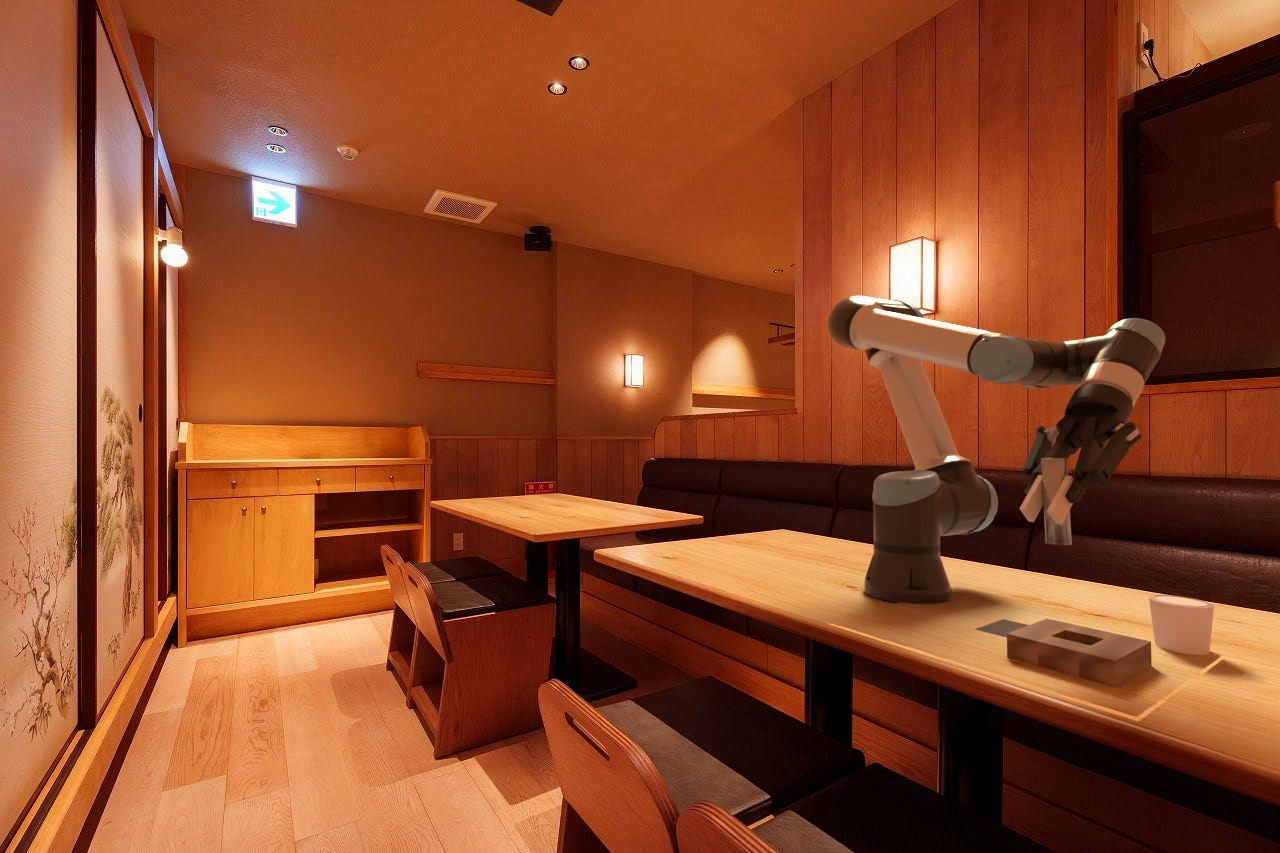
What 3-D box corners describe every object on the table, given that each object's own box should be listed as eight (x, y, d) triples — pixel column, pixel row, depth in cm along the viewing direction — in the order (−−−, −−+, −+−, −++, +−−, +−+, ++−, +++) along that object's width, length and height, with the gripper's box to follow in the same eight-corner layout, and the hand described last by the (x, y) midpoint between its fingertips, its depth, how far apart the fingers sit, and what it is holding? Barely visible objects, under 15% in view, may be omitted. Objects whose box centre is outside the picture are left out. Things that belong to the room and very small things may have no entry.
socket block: (1007, 659, 80) (1006, 633, 80) (1047, 642, 87) (1046, 618, 87) (1116, 690, 70) (1115, 660, 70) (1151, 668, 77) (1151, 641, 77)
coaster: (975, 631, 92) (975, 628, 92) (1003, 621, 97) (1003, 619, 97) (1040, 648, 85) (1040, 645, 85) (1067, 636, 90) (1067, 633, 90)
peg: (1042, 543, 84) (1037, 458, 85) (1051, 541, 86) (1046, 457, 87) (1066, 546, 82) (1061, 458, 82) (1075, 543, 84) (1070, 457, 84)
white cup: (1193, 661, 80) (1191, 609, 80) (1137, 644, 86) (1136, 596, 86) (1228, 656, 81) (1227, 604, 82) (1171, 640, 88) (1170, 592, 88)
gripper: (1179, 413, 84) (1118, 541, 76) (1058, 419, 99) (997, 528, 91) (1157, 374, 82) (1092, 502, 74) (1036, 386, 96) (972, 494, 89)
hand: (1040, 516), depth 82 cm, fingers closed on peg, 3 cm apart
